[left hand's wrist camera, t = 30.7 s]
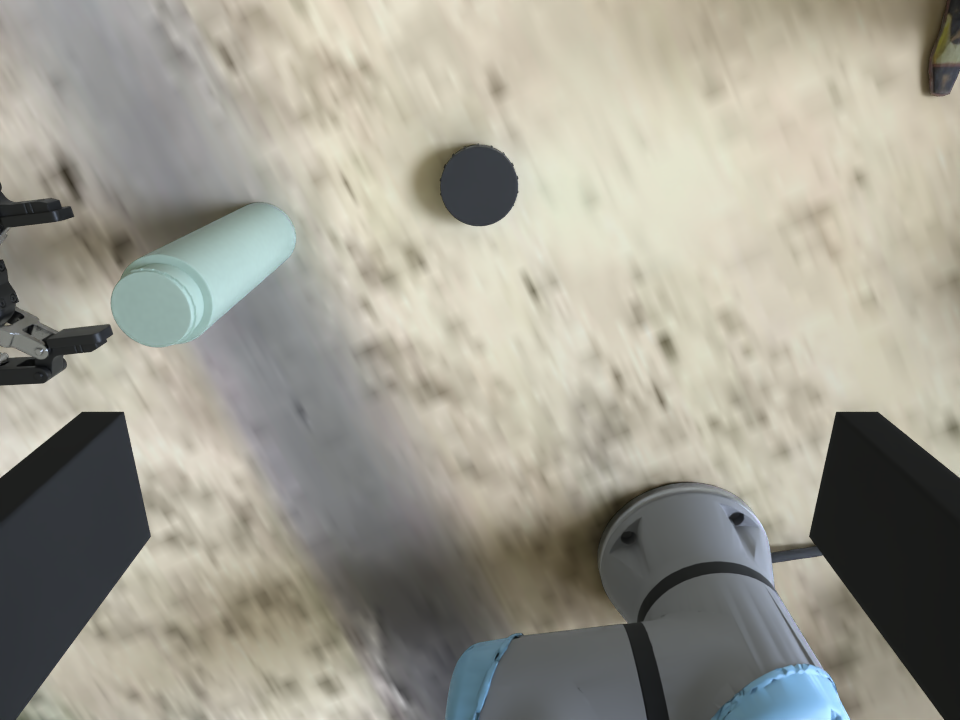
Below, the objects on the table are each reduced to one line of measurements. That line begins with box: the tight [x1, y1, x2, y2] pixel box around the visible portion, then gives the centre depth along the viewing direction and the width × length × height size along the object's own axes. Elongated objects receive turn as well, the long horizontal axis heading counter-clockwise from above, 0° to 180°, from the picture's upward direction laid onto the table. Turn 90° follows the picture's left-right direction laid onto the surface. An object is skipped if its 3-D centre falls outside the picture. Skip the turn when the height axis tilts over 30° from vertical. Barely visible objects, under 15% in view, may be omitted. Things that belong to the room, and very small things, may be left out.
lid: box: [440, 144, 518, 226], centre depth 50 cm, size 6×6×2 cm
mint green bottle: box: [111, 203, 296, 347], centre depth 43 cm, size 5×5×19 cm
